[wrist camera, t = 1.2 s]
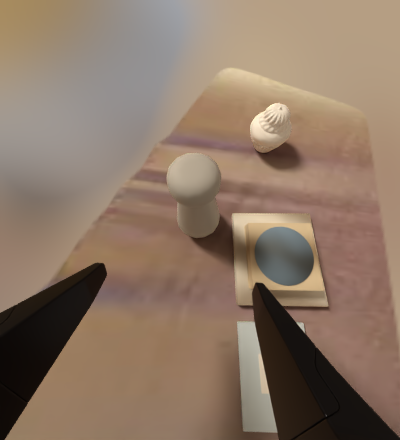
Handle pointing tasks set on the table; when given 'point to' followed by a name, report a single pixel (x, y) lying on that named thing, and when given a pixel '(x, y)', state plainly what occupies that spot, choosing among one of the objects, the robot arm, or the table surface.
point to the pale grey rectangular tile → (254, 381)
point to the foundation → (277, 258)
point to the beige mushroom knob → (195, 193)
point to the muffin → (271, 128)
